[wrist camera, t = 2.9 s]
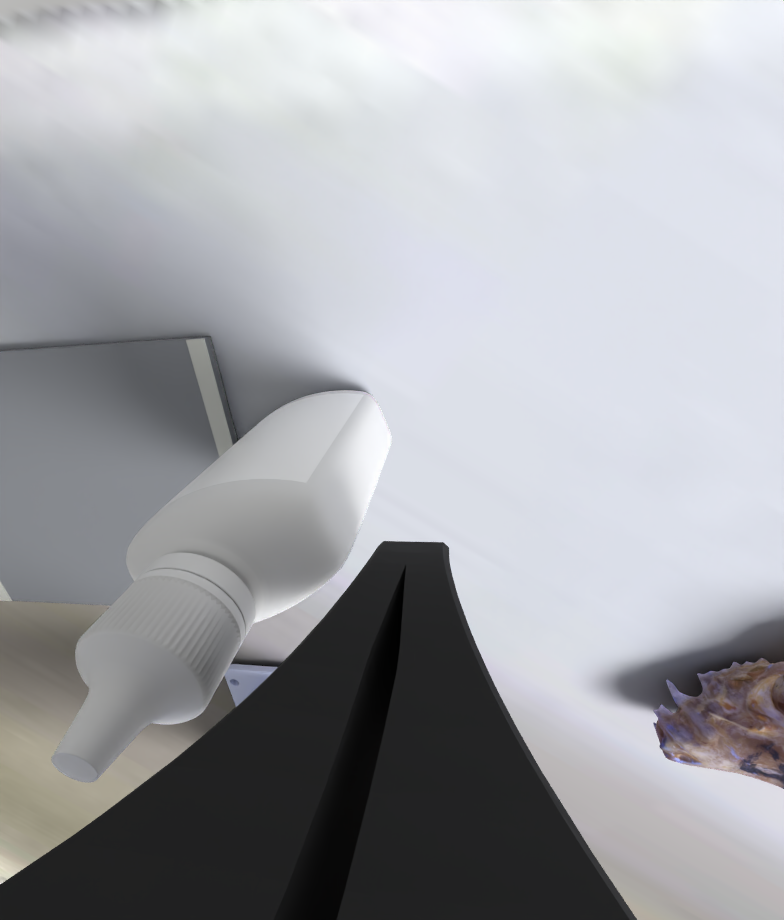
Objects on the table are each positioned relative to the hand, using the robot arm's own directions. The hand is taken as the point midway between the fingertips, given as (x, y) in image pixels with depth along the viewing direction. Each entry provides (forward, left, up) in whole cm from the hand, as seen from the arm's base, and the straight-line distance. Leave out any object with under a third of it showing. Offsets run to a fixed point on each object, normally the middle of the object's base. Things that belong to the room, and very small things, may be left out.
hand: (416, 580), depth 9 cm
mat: (-2, +16, -8) cm, 18 cm away
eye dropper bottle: (0, +4, -8) cm, 9 cm away
